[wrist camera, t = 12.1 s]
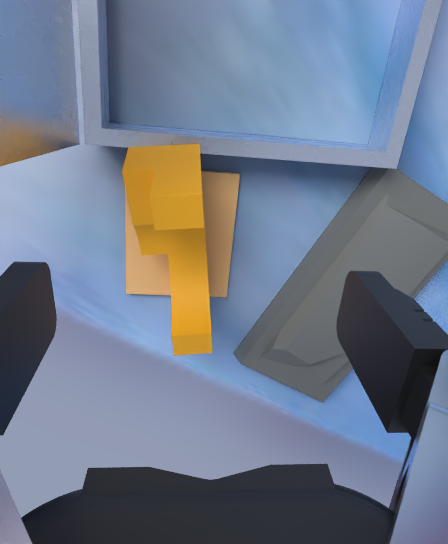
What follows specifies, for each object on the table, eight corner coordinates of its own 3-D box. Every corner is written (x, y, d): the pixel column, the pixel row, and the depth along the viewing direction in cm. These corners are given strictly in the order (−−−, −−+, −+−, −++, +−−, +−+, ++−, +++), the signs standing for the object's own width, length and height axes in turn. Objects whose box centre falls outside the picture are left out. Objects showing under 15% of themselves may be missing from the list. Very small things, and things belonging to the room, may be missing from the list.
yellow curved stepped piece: (128, 147, 25) (113, 199, 20) (199, 143, 25) (202, 194, 20) (154, 293, 33) (148, 357, 28) (209, 289, 33) (212, 352, 28)
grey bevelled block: (230, 349, 37) (234, 374, 34) (374, 154, 30) (395, 164, 27) (319, 389, 40) (330, 416, 37) (467, 221, 33) (496, 236, 30)
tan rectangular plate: (239, 173, 29) (240, 174, 29) (226, 294, 34) (226, 297, 33) (125, 164, 28) (124, 166, 28) (126, 291, 33) (126, 293, 32)
